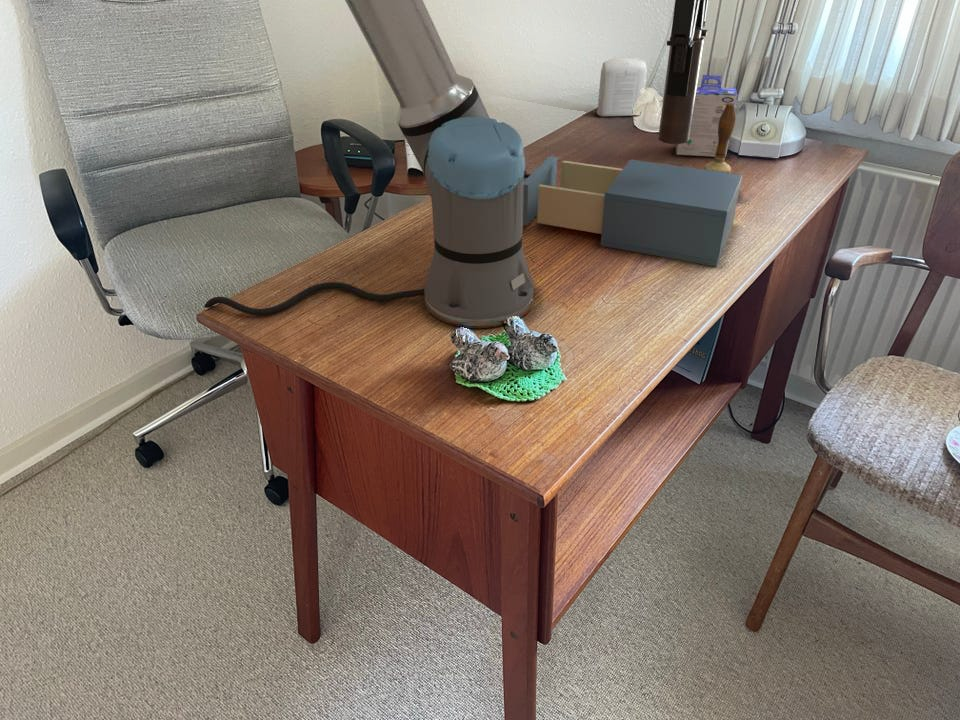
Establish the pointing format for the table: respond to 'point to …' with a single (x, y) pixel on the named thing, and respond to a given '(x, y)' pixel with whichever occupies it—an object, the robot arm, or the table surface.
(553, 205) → the drawer
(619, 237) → the cabinet
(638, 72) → the white tall block
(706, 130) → the ink cartridge box
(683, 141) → the pepper mill
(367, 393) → the table surface
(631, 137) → the table surface
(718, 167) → the hand bell
